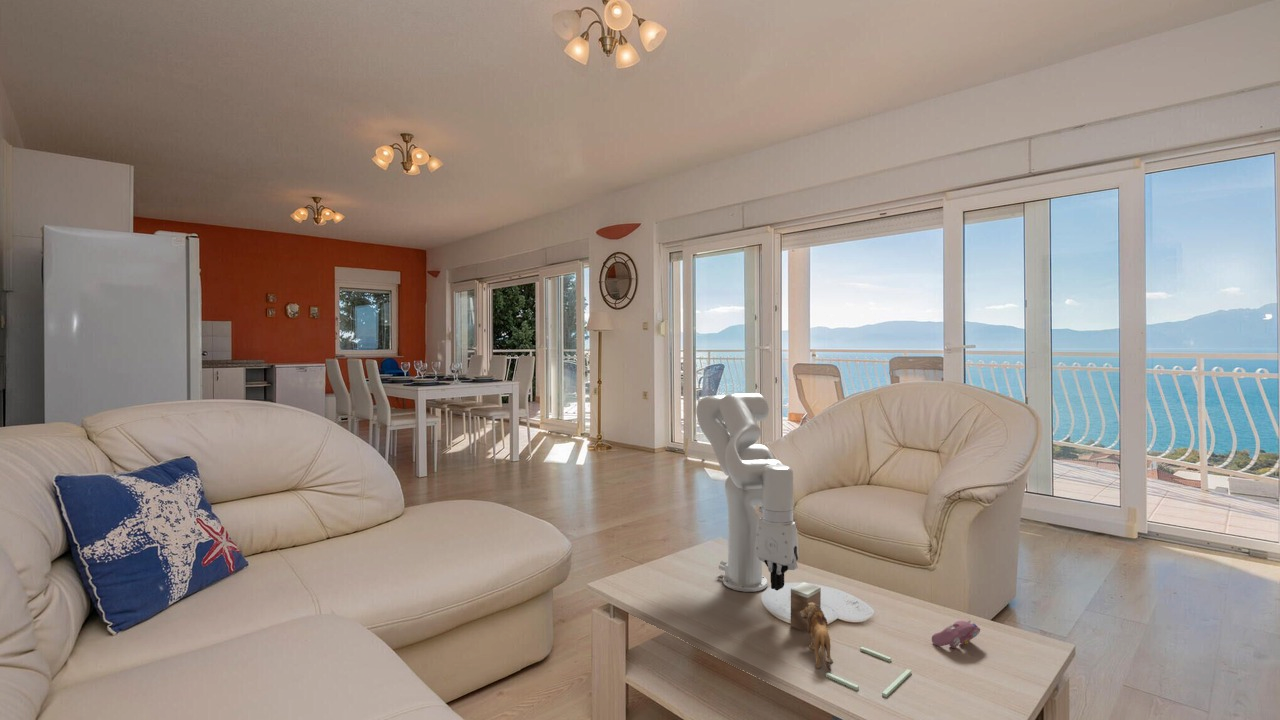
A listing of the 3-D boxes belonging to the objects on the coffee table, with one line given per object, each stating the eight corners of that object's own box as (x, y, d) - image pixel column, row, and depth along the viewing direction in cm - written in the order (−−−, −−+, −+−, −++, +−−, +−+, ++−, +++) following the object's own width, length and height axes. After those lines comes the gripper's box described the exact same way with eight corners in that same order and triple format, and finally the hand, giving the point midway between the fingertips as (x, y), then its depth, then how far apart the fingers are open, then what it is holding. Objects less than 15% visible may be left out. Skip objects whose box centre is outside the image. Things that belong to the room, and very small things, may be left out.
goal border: (826, 676, 117) (826, 673, 117) (861, 649, 128) (861, 646, 128) (882, 701, 109) (882, 698, 109) (915, 669, 120) (915, 666, 120)
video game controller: (943, 658, 127) (957, 636, 124) (928, 640, 131) (940, 618, 128) (974, 648, 131) (988, 627, 128) (958, 631, 135) (971, 610, 132)
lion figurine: (798, 638, 133) (798, 599, 133) (821, 638, 133) (821, 599, 133) (818, 674, 118) (818, 630, 118) (844, 673, 118) (844, 630, 118)
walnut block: (790, 626, 139) (790, 588, 139) (803, 618, 143) (803, 582, 143) (807, 632, 135) (807, 594, 135) (820, 624, 140) (820, 587, 139)
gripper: (744, 512, 147) (743, 583, 147) (795, 524, 136) (795, 601, 137) (761, 506, 152) (760, 575, 153) (812, 518, 142) (812, 592, 142)
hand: (777, 587), depth 145 cm, fingers closed
